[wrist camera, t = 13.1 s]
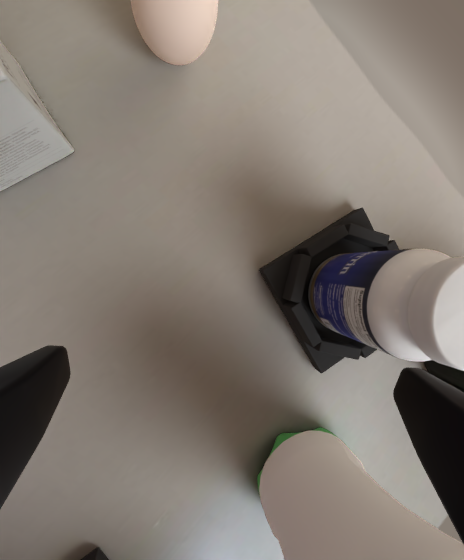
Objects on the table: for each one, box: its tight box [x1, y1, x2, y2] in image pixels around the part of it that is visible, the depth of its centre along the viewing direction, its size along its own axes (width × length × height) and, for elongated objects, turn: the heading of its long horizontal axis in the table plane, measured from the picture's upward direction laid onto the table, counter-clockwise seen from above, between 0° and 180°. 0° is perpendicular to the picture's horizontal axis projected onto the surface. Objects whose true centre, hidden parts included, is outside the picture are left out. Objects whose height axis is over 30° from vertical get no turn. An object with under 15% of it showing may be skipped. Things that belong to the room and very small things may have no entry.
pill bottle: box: [308, 249, 464, 371], centre depth 16 cm, size 6×6×10 cm
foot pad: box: [259, 208, 399, 373], centre depth 21 cm, size 9×9×2 cm
